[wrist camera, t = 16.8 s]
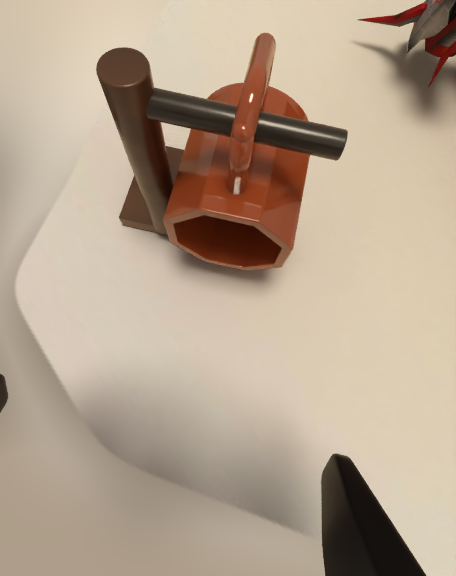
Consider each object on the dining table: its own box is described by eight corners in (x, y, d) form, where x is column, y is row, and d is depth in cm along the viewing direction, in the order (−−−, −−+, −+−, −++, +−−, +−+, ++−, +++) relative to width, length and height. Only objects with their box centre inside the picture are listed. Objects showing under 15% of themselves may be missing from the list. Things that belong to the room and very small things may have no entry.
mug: (295, 177, 24) (275, 277, 22) (201, 157, 24) (173, 254, 22) (359, 17, 13) (334, 182, 11) (192, -17, 14) (135, 138, 11)
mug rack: (280, 267, 25) (354, 138, 12) (120, 231, 25) (22, 66, 12) (296, 184, 27) (373, -2, 14) (149, 151, 27) (91, -61, 14)
